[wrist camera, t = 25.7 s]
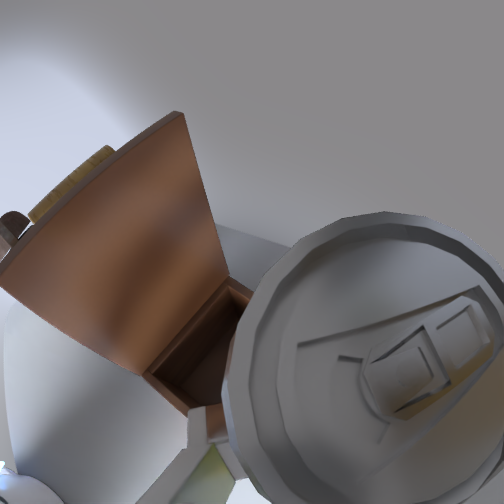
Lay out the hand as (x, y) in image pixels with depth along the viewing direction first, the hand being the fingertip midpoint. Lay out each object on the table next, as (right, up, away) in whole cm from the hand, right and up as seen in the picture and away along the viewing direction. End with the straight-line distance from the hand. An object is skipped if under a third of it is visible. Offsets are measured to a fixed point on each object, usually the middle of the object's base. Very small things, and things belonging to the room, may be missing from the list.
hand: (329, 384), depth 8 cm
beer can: (+1, -4, +5) cm, 7 cm away
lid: (-8, +2, +9) cm, 13 cm away
